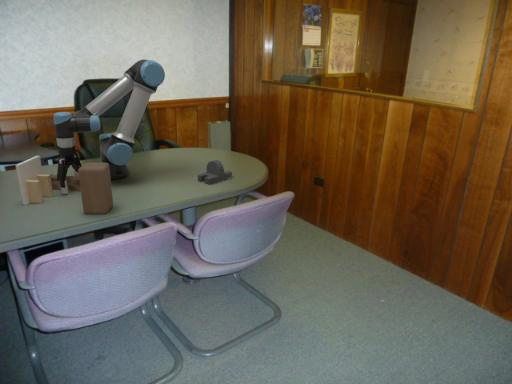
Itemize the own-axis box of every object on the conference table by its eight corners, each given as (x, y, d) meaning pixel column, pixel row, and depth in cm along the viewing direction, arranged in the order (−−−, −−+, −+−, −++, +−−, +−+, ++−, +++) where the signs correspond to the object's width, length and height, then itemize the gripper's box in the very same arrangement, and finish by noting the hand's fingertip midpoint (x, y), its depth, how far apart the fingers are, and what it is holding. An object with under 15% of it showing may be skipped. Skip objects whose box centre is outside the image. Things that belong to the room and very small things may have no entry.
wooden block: (90, 205, 168) (85, 161, 161) (113, 205, 169) (109, 162, 162) (83, 214, 159) (76, 168, 152) (107, 214, 160) (102, 169, 153)
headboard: (56, 193, 180) (50, 156, 173) (37, 205, 166) (30, 165, 159) (42, 192, 180) (36, 155, 174) (23, 204, 166) (15, 165, 159)
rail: (88, 188, 187) (87, 176, 185) (84, 191, 183) (82, 179, 181) (53, 186, 188) (51, 174, 186) (48, 189, 184) (46, 176, 182)
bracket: (232, 178, 212) (233, 159, 208) (209, 185, 199) (209, 165, 195) (220, 174, 218) (220, 155, 214) (196, 181, 205) (196, 162, 201)
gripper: (71, 139, 189) (77, 180, 197) (43, 152, 167) (50, 197, 174) (86, 140, 189) (91, 181, 197) (60, 153, 166) (66, 198, 174)
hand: (72, 188), depth 185 cm, fingers open, 12 cm apart
